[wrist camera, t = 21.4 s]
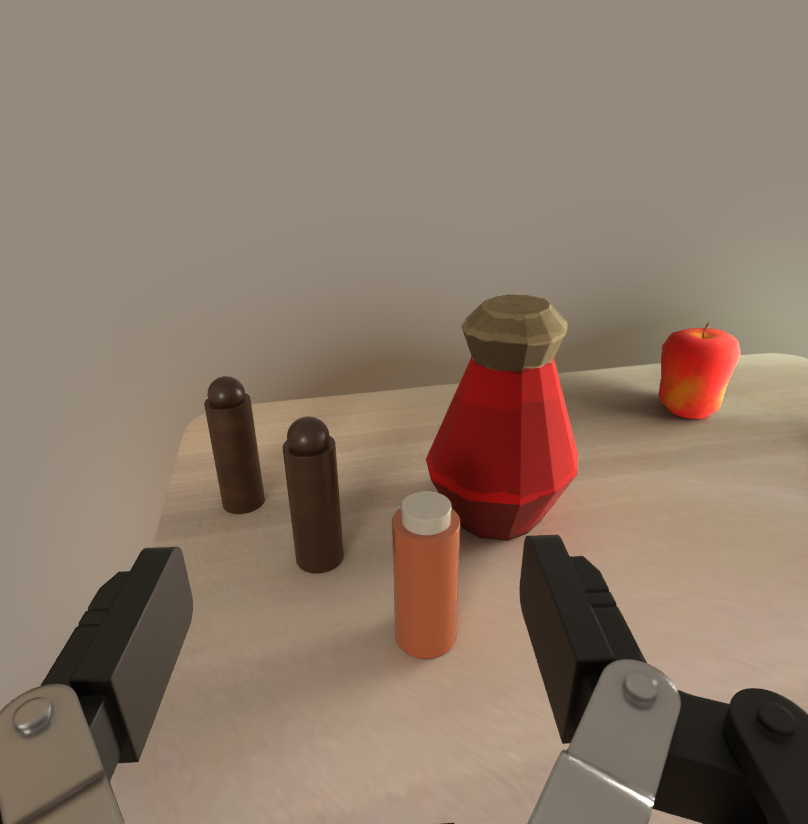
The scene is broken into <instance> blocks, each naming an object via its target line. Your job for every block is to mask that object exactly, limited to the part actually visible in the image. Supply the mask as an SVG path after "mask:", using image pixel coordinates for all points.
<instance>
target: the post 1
mask: <svg viewBox="0 0 808 824" xmlns="http://www.w3.org/2000/svg"><path fill="white" fill-rule="evenodd" d="M204 405H205V410H206V416H207V422H208V427H209V433H210V438H211V444H212V449H213V455H214V460H215V466H216V471H217V477H218V482H219V488H220V493H221V499H222V504H223V508H224V509H225V510H226V511H227V512H230V513H234V514H242V513H248V512H251V511H254V510H256V509H257V508H259V507H260V506H261V505H262V504H263V503H264V500H265V498H264V491H263V484H262V477H261V470H260V463H259V456H258V449H257V442H256V435H255V428H254V421H253V414H252V407H251V400H250V396H249V395H247V394H246V393H245V391H244V388H243V386H242V384H241V383H240V382H239V381H238V380H237V379H235V378H232V377H227V376H224V377H220V378H217V379H216V380H214V381H213V382H212V383H211V385H210V387H209V389H208V399H207V400H206V401H205V403H204Z"/></svg>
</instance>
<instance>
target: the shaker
mask: <svg viewBox="0 0 808 824" xmlns="http://www.w3.org/2000/svg"><path fill="white" fill-rule="evenodd" d="M392 542H393V578H394V615H395V638H396V641H397V643H398V645H399V647H400V648H401V649H402V650H403V651H404V652H406V653H407V654H409V655H411V656H414V657H417V658H422V659H430V658H436V657H439V656H441V655H443V654H445V653H447V652H448V651H449V650H450V649H451V648H452V646H453V645H454V643H455V640H456V631H457V604H458V577H459V550H460V518H459V516H458V514H457V513H456V512H455V511H454V510H453V509H452V508H451V502H450V501H449V499H448V498H447V497H445V496H444V495H442V494H440V493H437V492H432V491H420V492H415V493H412V494H410V495H408V496H407V497H405V498H404V499H403V501H402V503H401V508H400V509H398V510H397V511H396V513H395V514H394V516H393V518H392Z"/></svg>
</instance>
